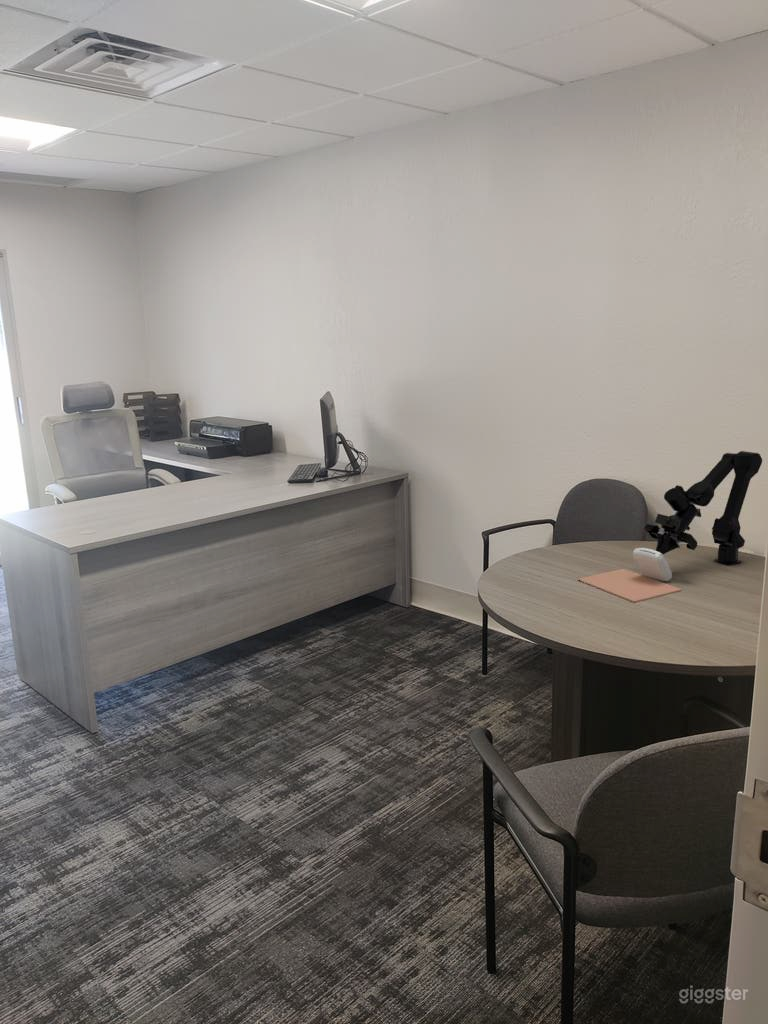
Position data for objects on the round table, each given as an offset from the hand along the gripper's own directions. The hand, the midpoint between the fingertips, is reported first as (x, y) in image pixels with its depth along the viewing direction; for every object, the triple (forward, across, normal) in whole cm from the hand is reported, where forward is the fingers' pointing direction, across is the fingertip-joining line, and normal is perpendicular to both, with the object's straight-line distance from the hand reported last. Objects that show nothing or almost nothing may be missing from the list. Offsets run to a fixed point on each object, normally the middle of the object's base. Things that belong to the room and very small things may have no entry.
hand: (656, 556), depth 254 cm
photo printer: (+4, 0, +6) cm, 7 cm away
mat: (+14, 0, -3) cm, 14 cm away
